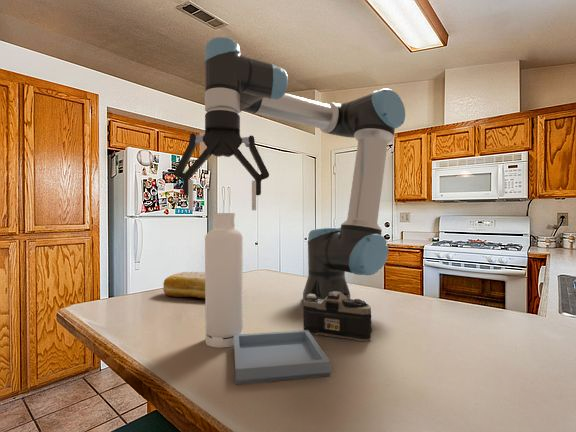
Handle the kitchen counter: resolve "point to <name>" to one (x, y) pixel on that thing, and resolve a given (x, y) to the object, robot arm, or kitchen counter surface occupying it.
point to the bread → (185, 285)
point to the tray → (278, 357)
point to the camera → (337, 317)
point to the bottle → (223, 281)
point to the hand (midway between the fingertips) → (222, 210)
